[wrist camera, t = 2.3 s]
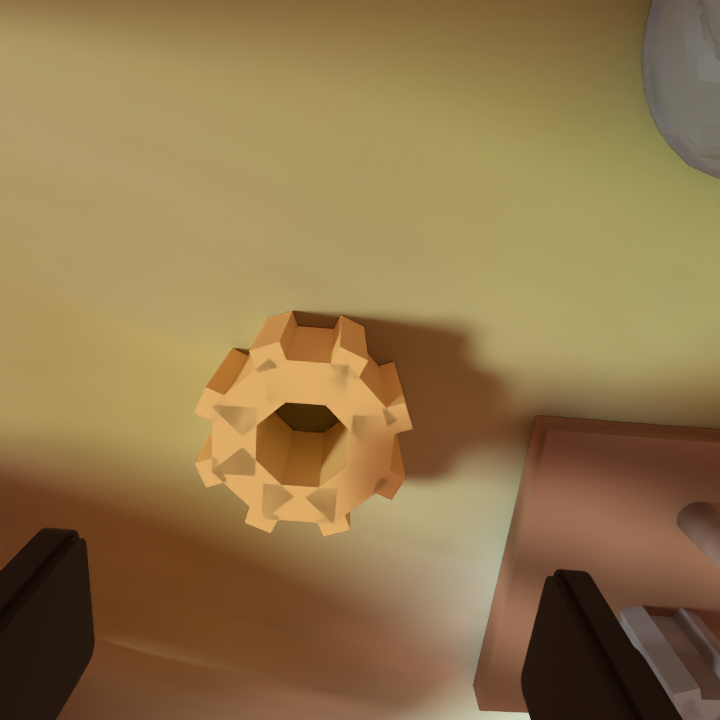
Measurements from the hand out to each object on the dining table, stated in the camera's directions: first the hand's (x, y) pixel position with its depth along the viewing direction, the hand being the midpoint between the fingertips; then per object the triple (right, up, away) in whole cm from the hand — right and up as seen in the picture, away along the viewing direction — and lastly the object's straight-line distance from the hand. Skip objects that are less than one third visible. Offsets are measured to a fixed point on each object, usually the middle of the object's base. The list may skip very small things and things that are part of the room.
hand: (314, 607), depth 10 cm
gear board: (+13, -4, +11) cm, 18 cm away
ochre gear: (-1, +4, +8) cm, 9 cm away
